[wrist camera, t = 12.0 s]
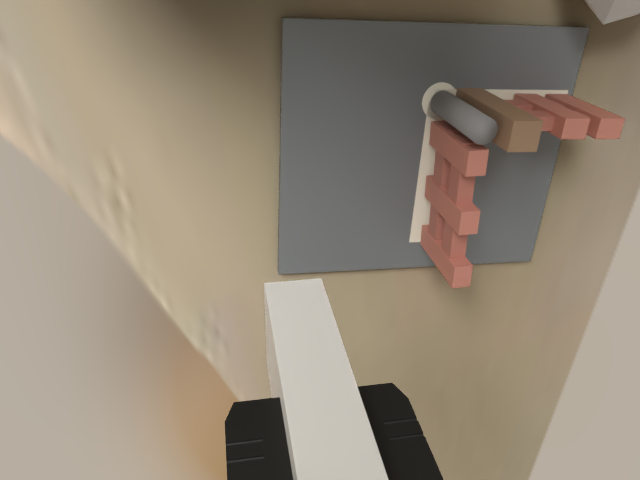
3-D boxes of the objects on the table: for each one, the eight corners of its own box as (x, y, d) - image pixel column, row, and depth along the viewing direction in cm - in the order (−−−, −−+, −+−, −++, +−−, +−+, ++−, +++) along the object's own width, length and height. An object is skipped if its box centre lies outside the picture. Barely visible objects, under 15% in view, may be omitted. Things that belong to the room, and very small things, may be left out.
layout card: (282, 17, 39) (283, 18, 38) (584, 26, 43) (589, 28, 42) (277, 270, 48) (278, 274, 47) (527, 257, 52) (531, 261, 52)
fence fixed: (452, 114, 44) (507, 152, 36) (456, 87, 43) (514, 121, 35) (558, 114, 45) (633, 150, 37) (564, 88, 44) (642, 120, 37)
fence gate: (431, 90, 42) (472, 118, 36) (454, 89, 42) (499, 116, 36) (417, 245, 48) (451, 292, 42) (438, 243, 48) (474, 290, 42)
